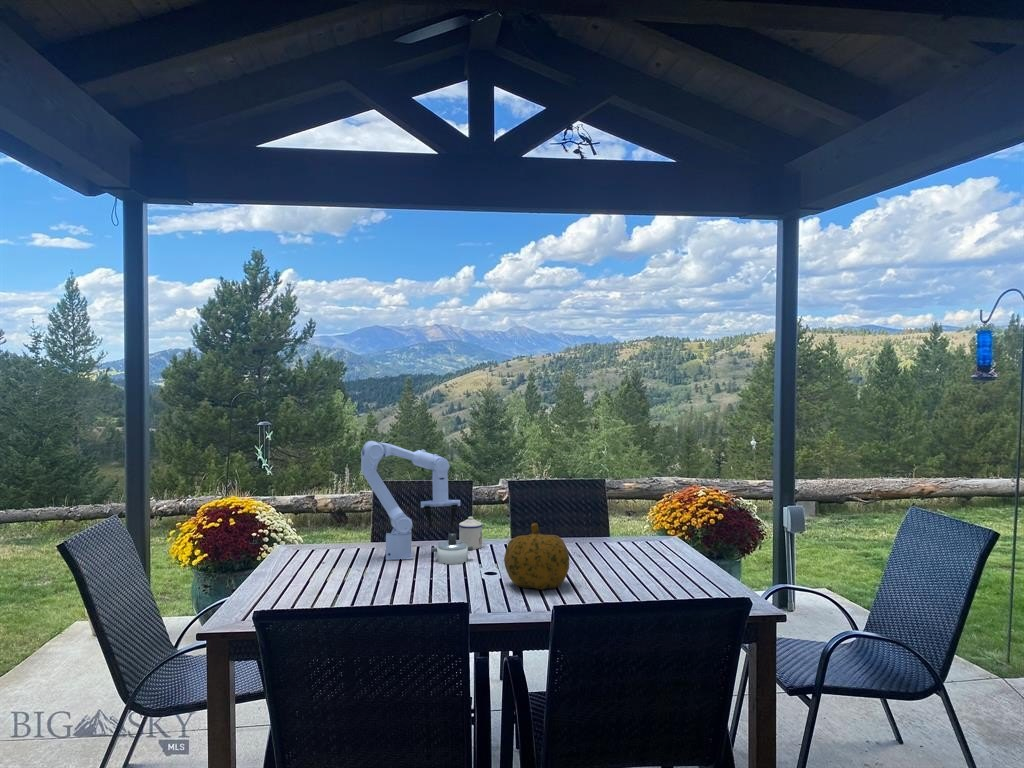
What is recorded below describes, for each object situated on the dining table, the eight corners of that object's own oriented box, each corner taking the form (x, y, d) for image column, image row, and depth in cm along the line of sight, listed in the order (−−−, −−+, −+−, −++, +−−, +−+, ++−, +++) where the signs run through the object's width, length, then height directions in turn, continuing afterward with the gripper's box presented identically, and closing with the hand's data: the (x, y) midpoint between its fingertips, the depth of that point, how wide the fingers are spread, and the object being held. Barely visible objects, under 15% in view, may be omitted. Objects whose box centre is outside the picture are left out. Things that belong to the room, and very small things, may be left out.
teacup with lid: (484, 549, 278) (484, 518, 278) (461, 550, 275) (461, 519, 275) (477, 542, 289) (477, 512, 289) (455, 543, 287) (455, 514, 287)
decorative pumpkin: (553, 596, 214) (550, 527, 216) (494, 591, 226) (491, 526, 227) (584, 583, 231) (580, 519, 233) (527, 579, 243) (524, 518, 244)
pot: (432, 565, 254) (432, 550, 254) (431, 557, 265) (431, 543, 265) (474, 563, 256) (474, 549, 256) (471, 556, 267) (471, 542, 267)
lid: (436, 550, 255) (436, 537, 255) (439, 543, 265) (439, 531, 265) (465, 550, 255) (465, 537, 255) (467, 543, 265) (467, 531, 265)
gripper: (420, 491, 265) (421, 529, 265) (460, 490, 267) (461, 527, 267) (420, 488, 272) (421, 525, 272) (459, 487, 274) (460, 523, 274)
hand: (441, 525), depth 270 cm, fingers open, 7 cm apart
